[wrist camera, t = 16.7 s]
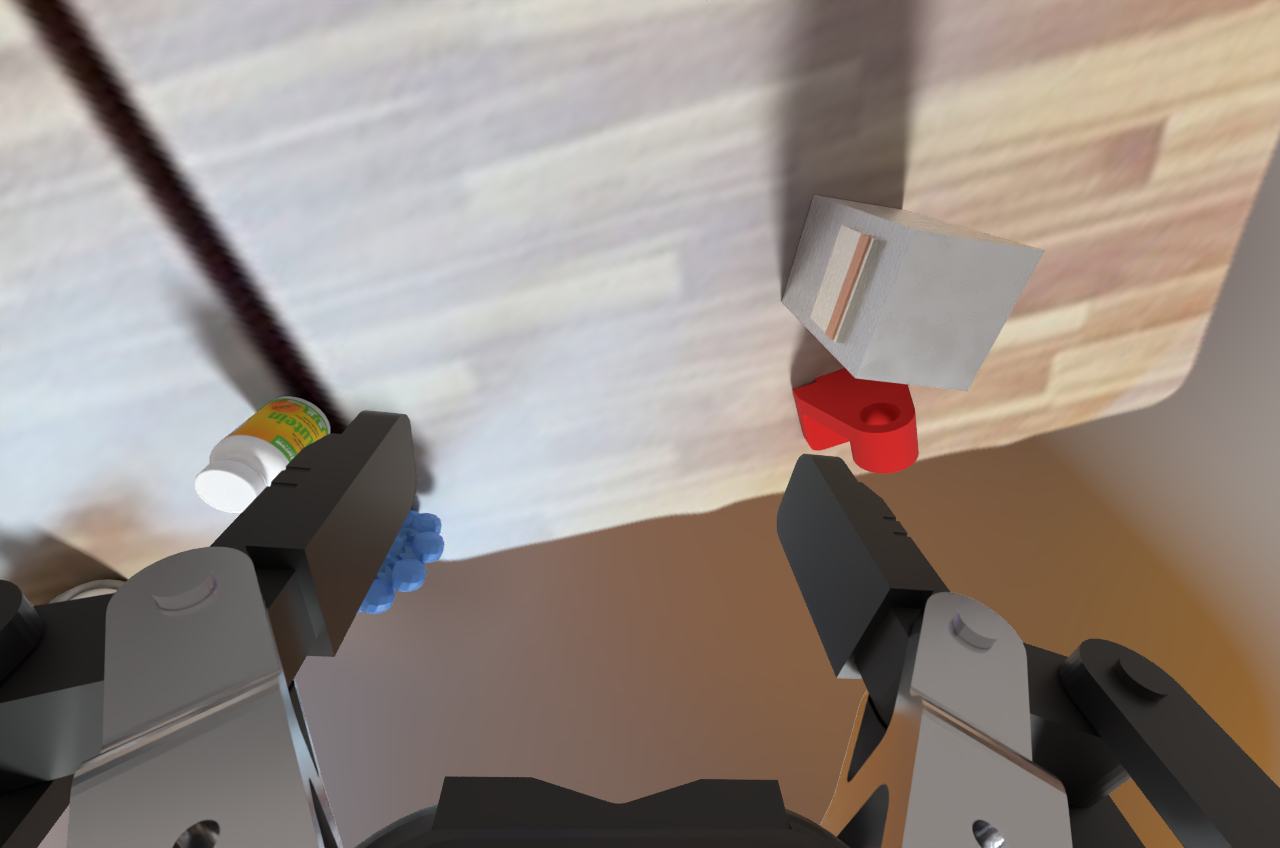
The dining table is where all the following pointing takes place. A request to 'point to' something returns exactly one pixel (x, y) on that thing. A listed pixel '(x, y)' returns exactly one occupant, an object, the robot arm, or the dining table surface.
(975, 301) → the dispenser
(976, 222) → the dining table surface
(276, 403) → the supplement bottle
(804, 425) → the bracket
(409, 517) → the grapes
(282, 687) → the robot arm
